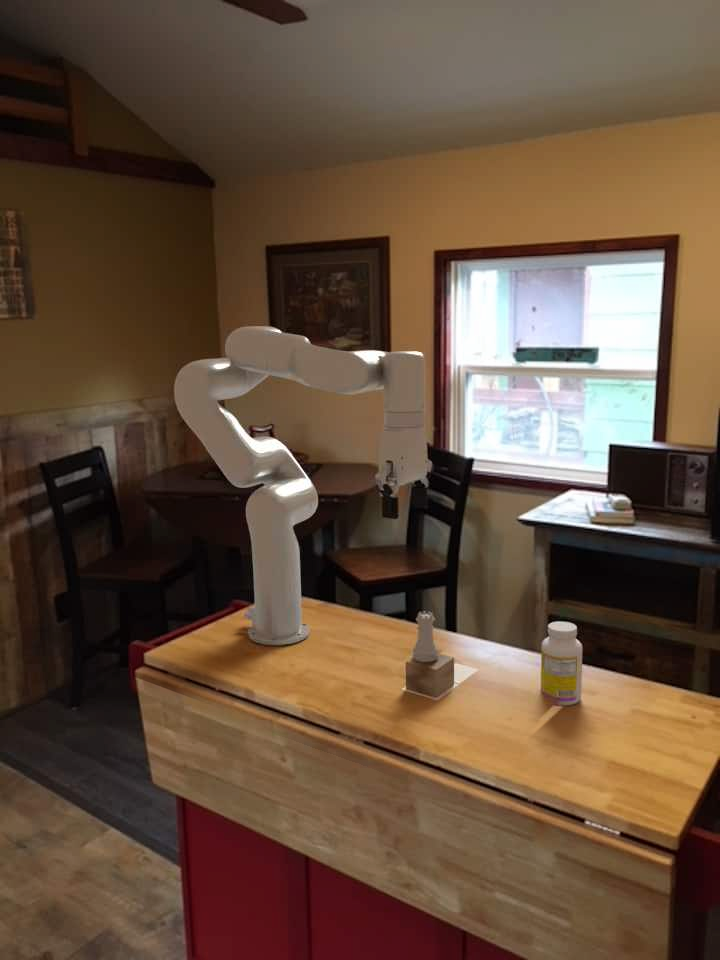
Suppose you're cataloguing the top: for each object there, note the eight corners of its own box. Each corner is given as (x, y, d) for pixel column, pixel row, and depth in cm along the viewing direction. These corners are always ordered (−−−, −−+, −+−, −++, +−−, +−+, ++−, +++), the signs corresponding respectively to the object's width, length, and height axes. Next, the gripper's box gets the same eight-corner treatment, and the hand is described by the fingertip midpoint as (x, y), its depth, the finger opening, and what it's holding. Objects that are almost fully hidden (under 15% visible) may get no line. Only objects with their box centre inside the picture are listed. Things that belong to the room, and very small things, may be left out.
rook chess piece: (437, 664, 135) (437, 619, 134) (411, 663, 136) (411, 618, 135) (439, 653, 140) (439, 609, 138) (413, 652, 140) (413, 608, 139)
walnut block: (405, 689, 138) (405, 661, 137) (424, 676, 142) (424, 649, 141) (436, 697, 134) (436, 669, 133) (454, 684, 139) (454, 657, 138)
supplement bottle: (554, 686, 141) (556, 616, 138) (588, 697, 136) (591, 625, 134) (532, 698, 136) (534, 626, 134) (567, 711, 132) (569, 636, 129)
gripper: (412, 414, 155) (413, 502, 158) (359, 424, 141) (361, 519, 144) (446, 416, 150) (446, 506, 154) (395, 427, 137) (396, 525, 140)
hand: (405, 512), depth 149 cm, fingers open, 9 cm apart
